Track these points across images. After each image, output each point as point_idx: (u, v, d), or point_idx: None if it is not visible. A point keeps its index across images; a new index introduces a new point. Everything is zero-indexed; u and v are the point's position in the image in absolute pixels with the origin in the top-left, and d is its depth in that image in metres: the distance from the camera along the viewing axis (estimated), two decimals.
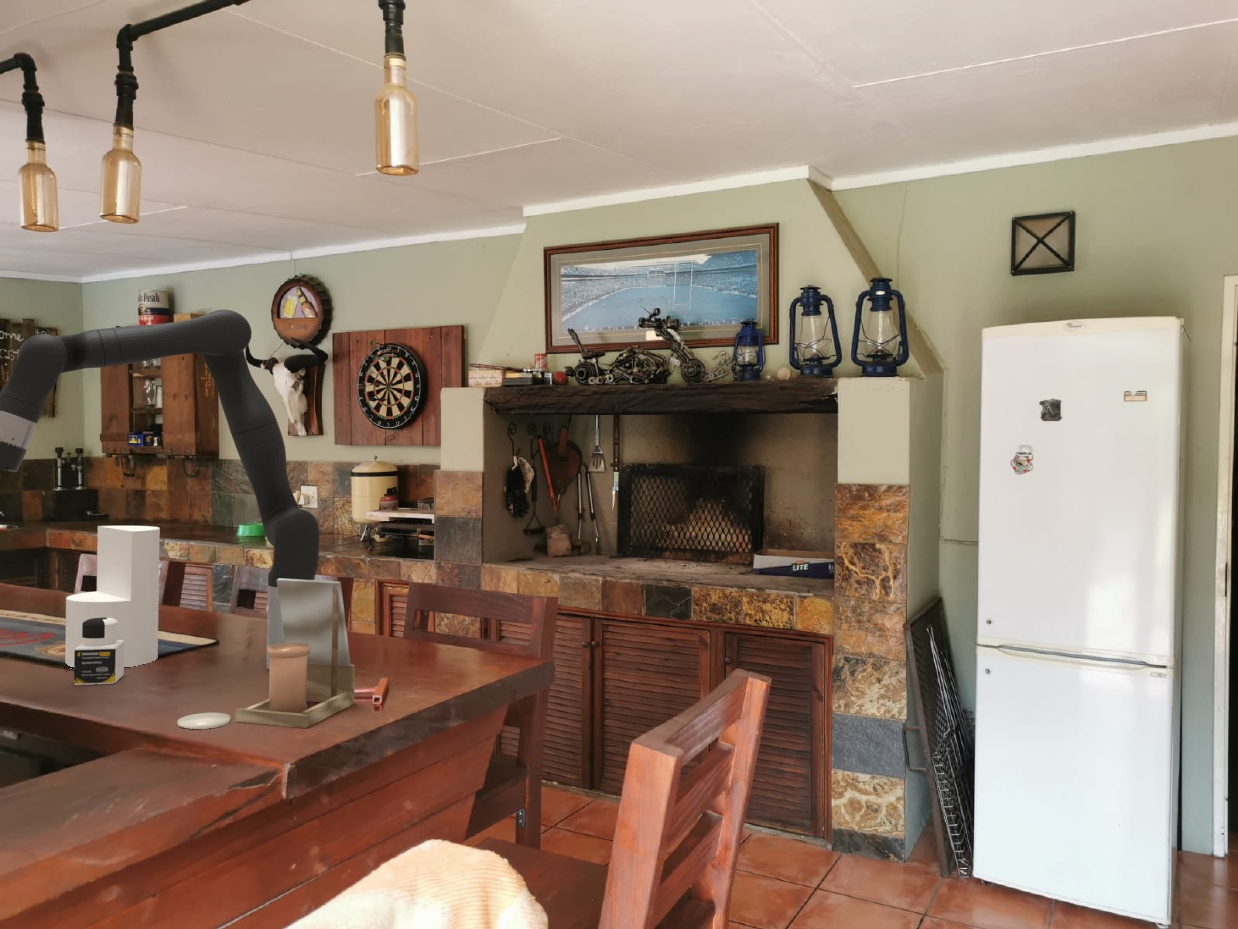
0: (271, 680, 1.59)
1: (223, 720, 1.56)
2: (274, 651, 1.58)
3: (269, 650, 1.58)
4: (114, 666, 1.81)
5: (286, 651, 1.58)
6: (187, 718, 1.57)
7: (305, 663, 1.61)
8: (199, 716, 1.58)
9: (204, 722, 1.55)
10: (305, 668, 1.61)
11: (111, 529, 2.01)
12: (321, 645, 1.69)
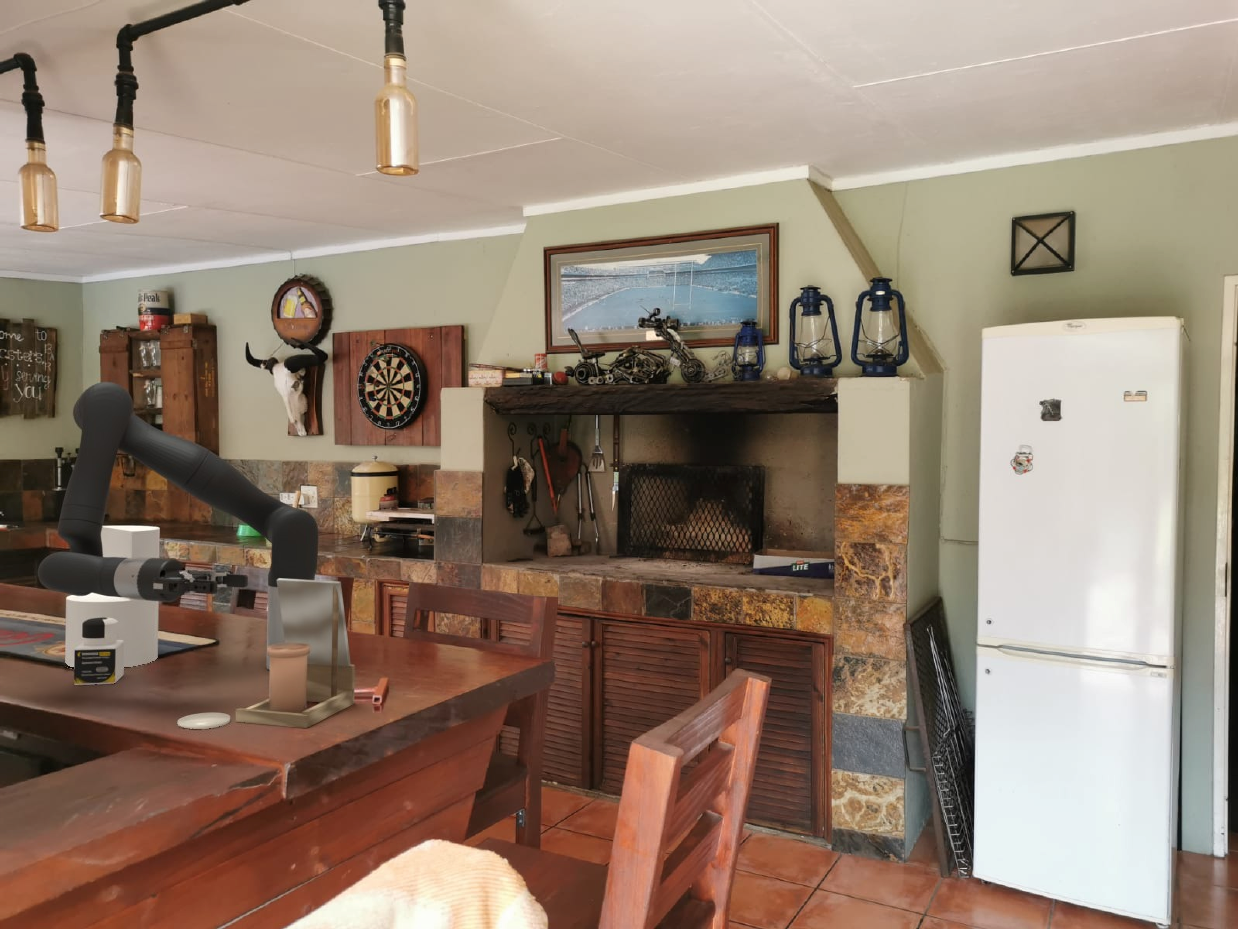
0: (271, 680, 1.59)
1: (223, 720, 1.56)
2: (274, 651, 1.58)
3: (269, 650, 1.58)
4: (114, 666, 1.81)
5: (286, 651, 1.58)
6: (187, 718, 1.57)
7: (305, 663, 1.61)
8: (199, 716, 1.58)
9: (204, 722, 1.55)
10: (305, 668, 1.61)
11: (111, 529, 2.01)
12: (321, 645, 1.69)
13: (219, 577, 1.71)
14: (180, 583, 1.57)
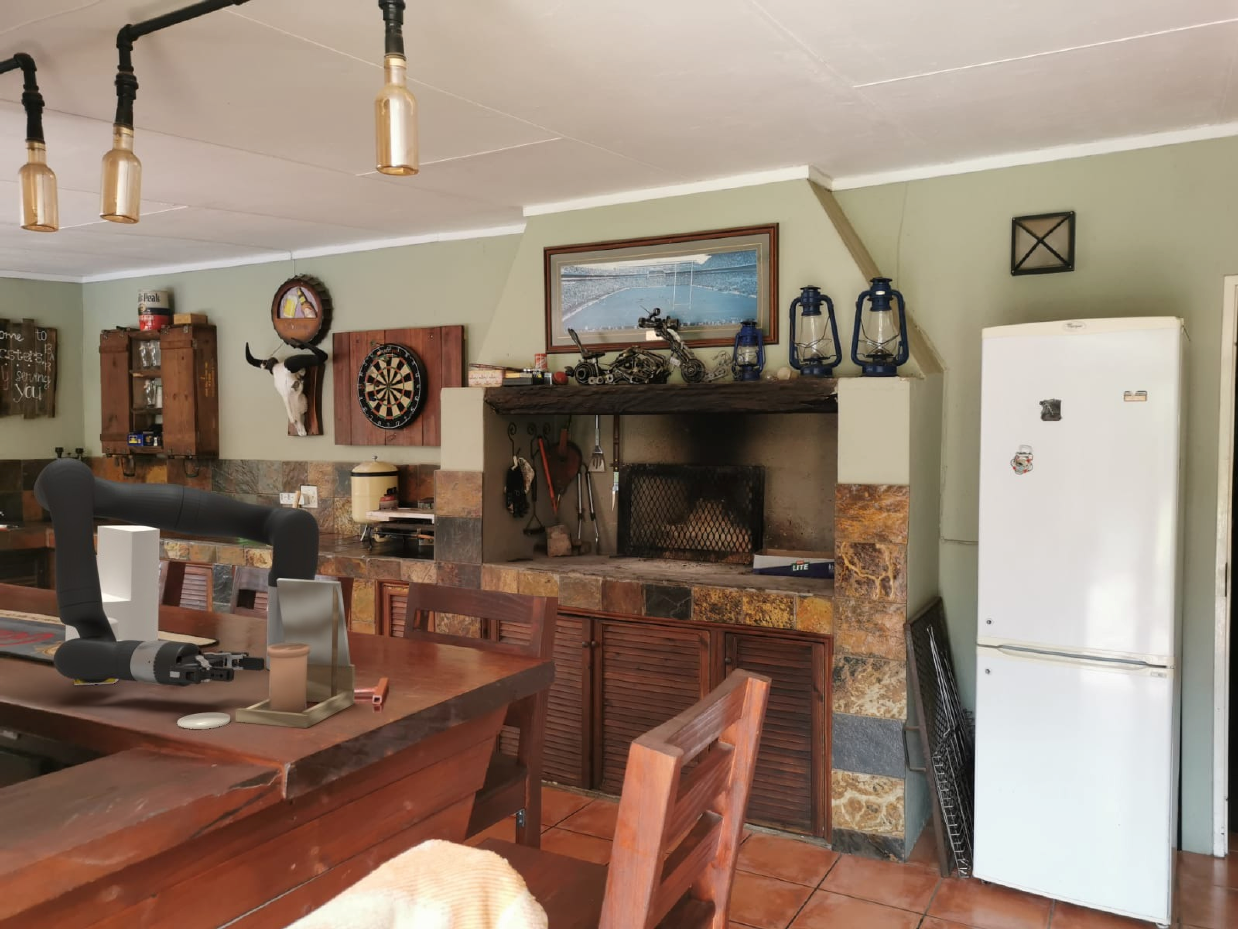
0: (271, 680, 1.59)
1: (223, 720, 1.56)
2: (274, 651, 1.58)
3: (269, 650, 1.58)
4: None
5: (286, 651, 1.58)
6: (187, 718, 1.57)
7: (305, 663, 1.61)
8: (199, 716, 1.58)
9: (204, 722, 1.55)
10: (305, 668, 1.61)
11: (111, 529, 2.01)
12: (321, 645, 1.69)
13: (235, 658, 1.70)
14: (197, 672, 1.57)
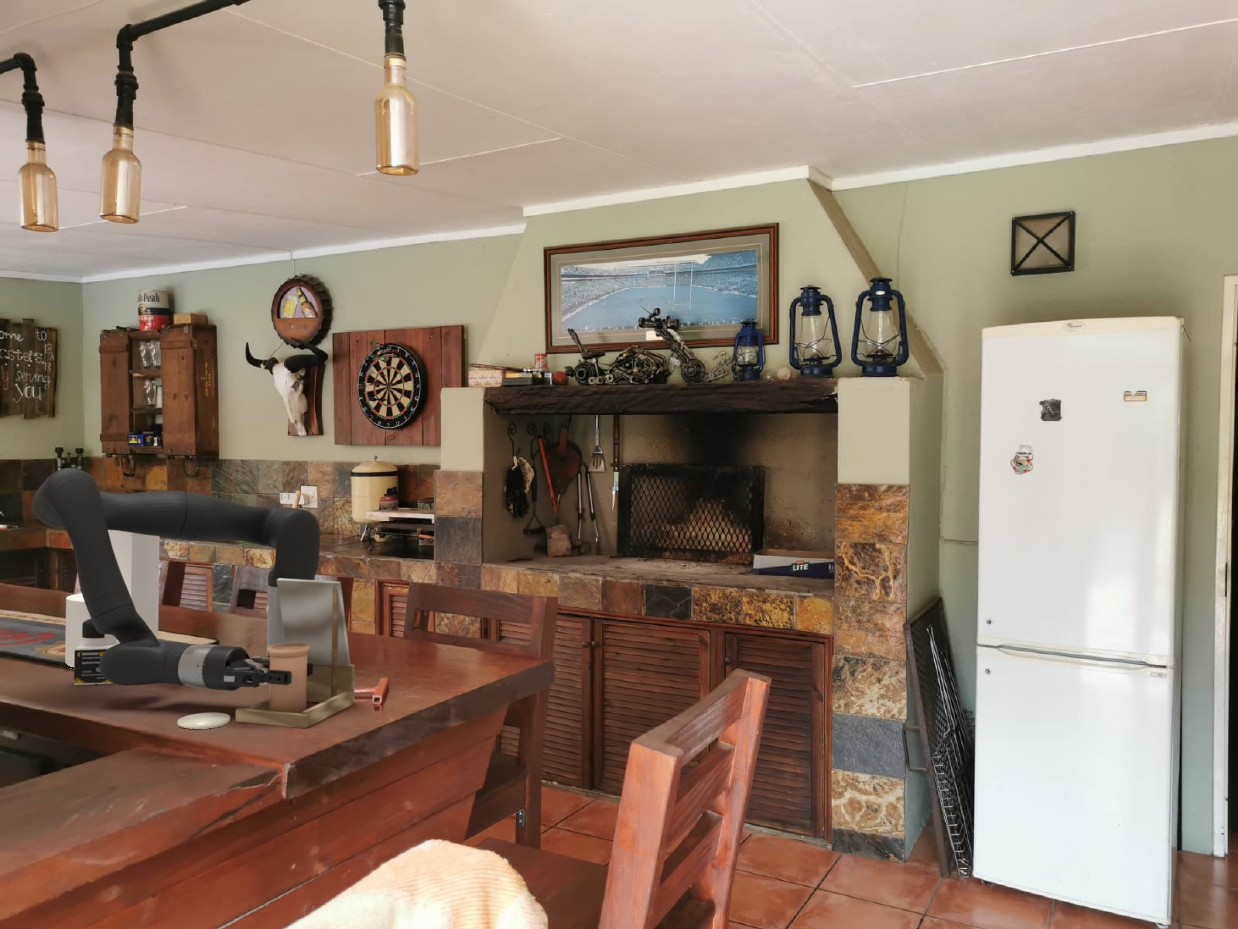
0: None
1: (223, 720, 1.56)
2: (274, 651, 1.58)
3: (269, 650, 1.58)
4: None
5: (286, 651, 1.58)
6: (187, 718, 1.57)
7: (305, 663, 1.61)
8: (199, 716, 1.58)
9: (204, 722, 1.55)
10: (305, 668, 1.61)
11: None
12: (321, 645, 1.69)
13: None
14: (255, 675, 1.56)
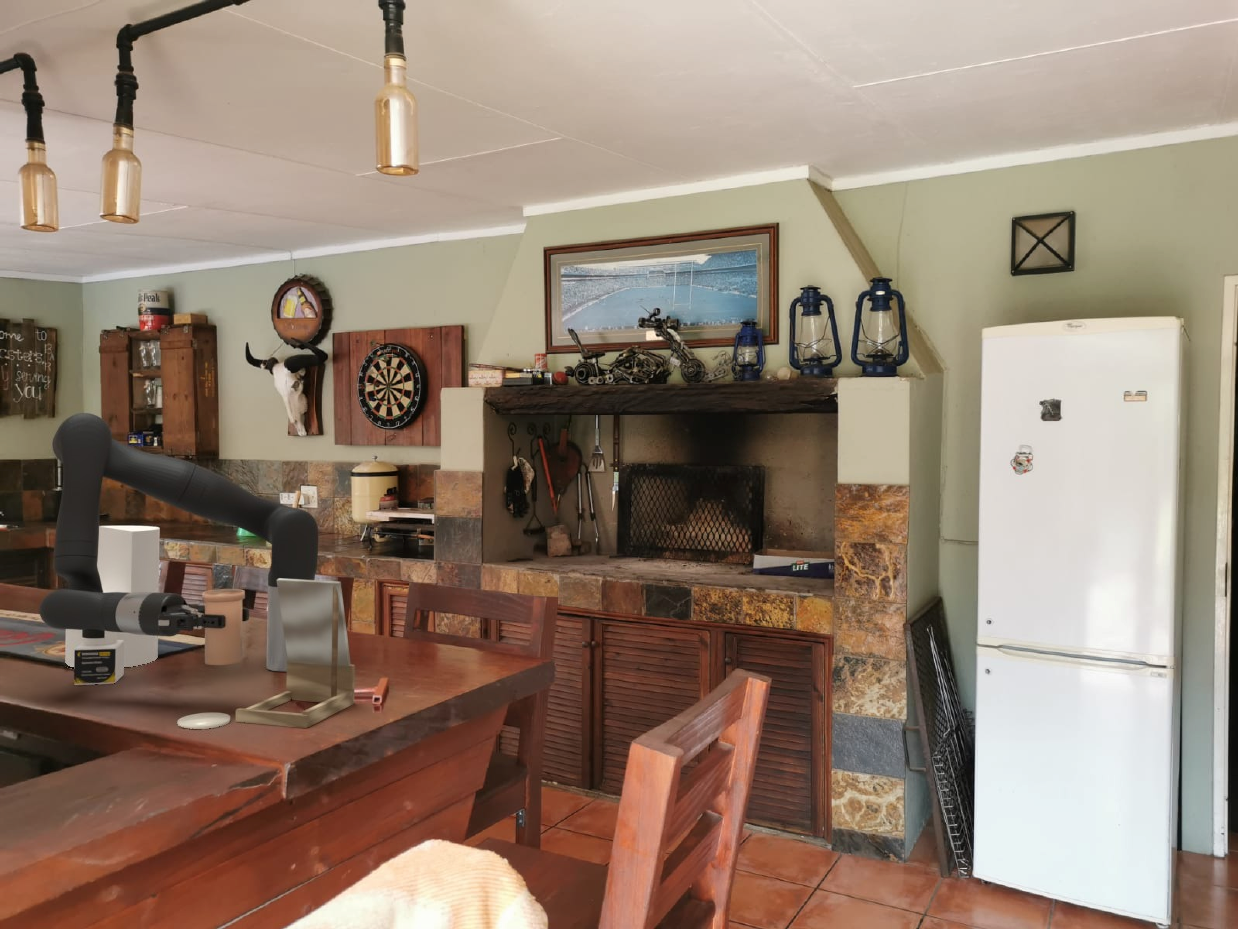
0: None
1: (223, 720, 1.56)
2: (208, 596, 1.60)
3: (203, 595, 1.61)
4: (114, 666, 1.81)
5: (220, 595, 1.60)
6: (187, 718, 1.57)
7: (240, 608, 1.63)
8: (199, 716, 1.58)
9: (204, 722, 1.55)
10: (240, 613, 1.64)
11: (111, 529, 2.01)
12: (321, 645, 1.69)
13: None
14: (188, 619, 1.58)
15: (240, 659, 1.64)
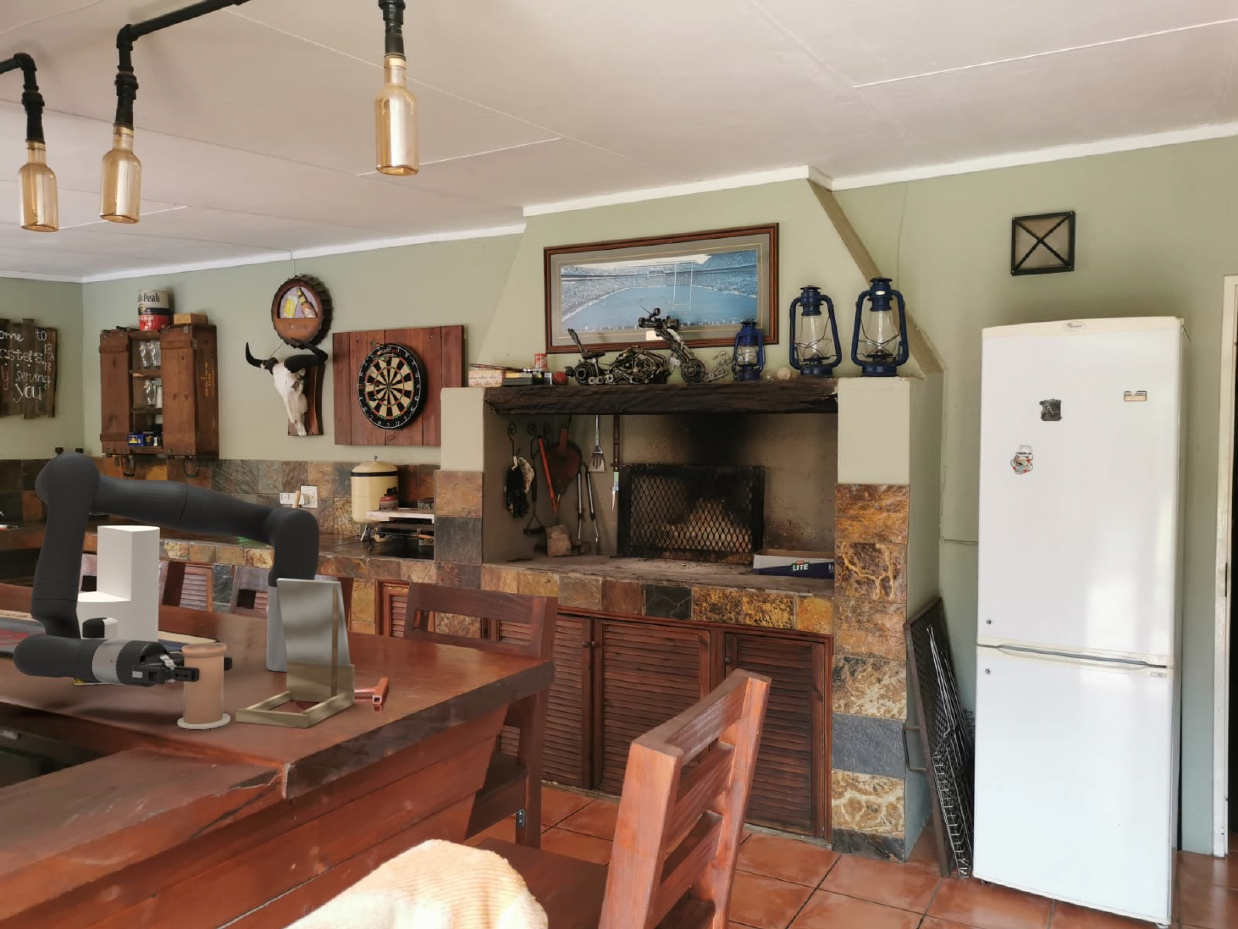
0: (185, 681, 1.54)
1: (223, 720, 1.56)
2: (188, 651, 1.53)
3: (183, 650, 1.54)
4: None
5: (200, 651, 1.53)
6: None
7: (221, 663, 1.56)
8: None
9: None
10: (221, 669, 1.56)
11: (111, 529, 2.01)
12: (321, 645, 1.69)
13: None
14: (160, 672, 1.50)
15: (220, 717, 1.56)
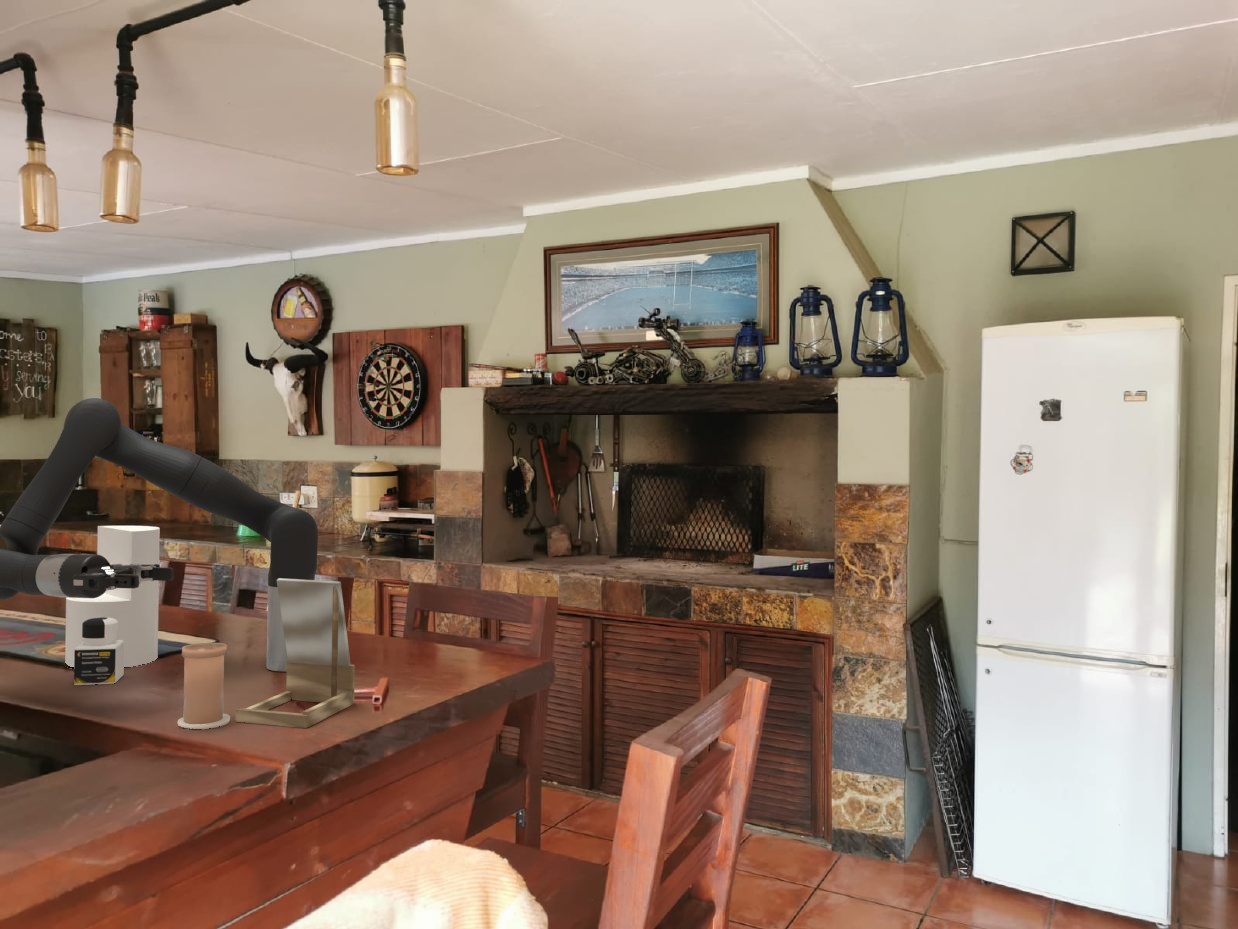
0: (185, 681, 1.54)
1: (223, 720, 1.56)
2: (188, 651, 1.53)
3: (183, 650, 1.54)
4: (114, 666, 1.81)
5: (200, 651, 1.53)
6: None
7: (221, 664, 1.56)
8: None
9: None
10: (221, 669, 1.56)
11: (111, 529, 2.01)
12: (321, 645, 1.69)
13: (146, 571, 1.68)
14: (100, 578, 1.54)
15: (220, 717, 1.56)
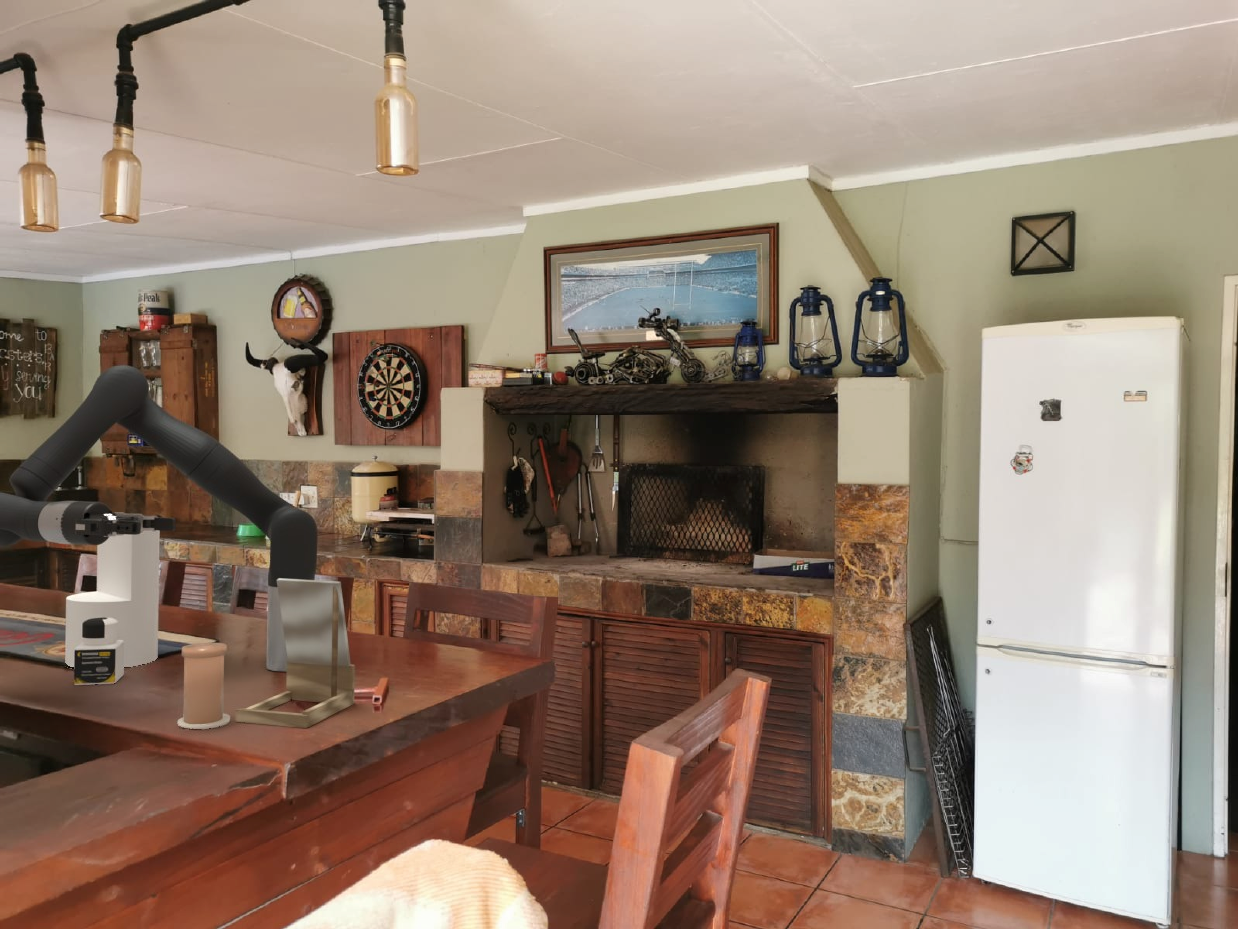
0: (185, 681, 1.54)
1: (223, 720, 1.56)
2: (188, 651, 1.53)
3: (183, 650, 1.54)
4: (114, 666, 1.81)
5: (200, 651, 1.53)
6: None
7: (221, 663, 1.56)
8: None
9: None
10: (221, 669, 1.56)
11: None
12: (321, 645, 1.69)
13: (148, 522, 1.68)
14: (102, 523, 1.55)
15: (220, 717, 1.56)
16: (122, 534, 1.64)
